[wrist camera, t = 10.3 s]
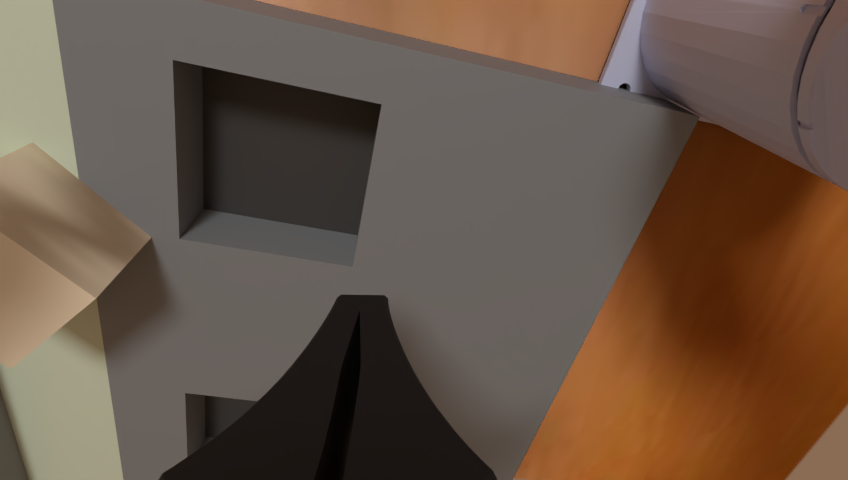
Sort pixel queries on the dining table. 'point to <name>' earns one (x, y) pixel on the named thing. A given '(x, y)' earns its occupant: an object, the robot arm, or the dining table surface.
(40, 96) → the board
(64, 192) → the birch block
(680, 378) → the dining table surface
